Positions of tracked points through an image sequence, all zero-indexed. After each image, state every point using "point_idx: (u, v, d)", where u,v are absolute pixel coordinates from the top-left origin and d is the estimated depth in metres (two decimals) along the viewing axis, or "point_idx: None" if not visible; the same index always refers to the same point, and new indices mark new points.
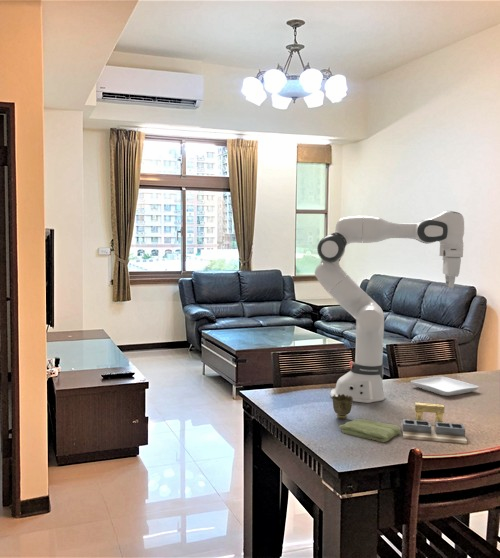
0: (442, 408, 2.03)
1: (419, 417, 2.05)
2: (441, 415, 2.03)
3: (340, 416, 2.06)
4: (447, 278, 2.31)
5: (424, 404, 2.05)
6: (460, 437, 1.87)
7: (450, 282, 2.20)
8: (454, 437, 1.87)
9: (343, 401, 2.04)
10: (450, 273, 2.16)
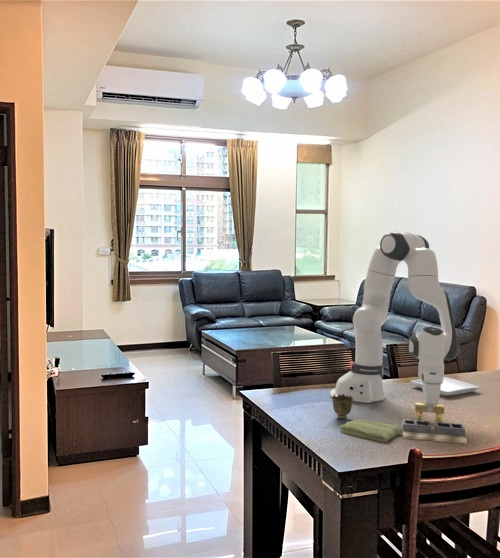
0: (442, 408, 2.03)
1: (419, 417, 2.05)
2: (441, 415, 2.03)
3: (340, 416, 2.06)
4: None
5: (424, 404, 2.05)
6: (460, 437, 1.87)
7: (428, 407, 2.02)
8: (454, 437, 1.87)
9: (343, 401, 2.04)
10: (429, 402, 1.95)
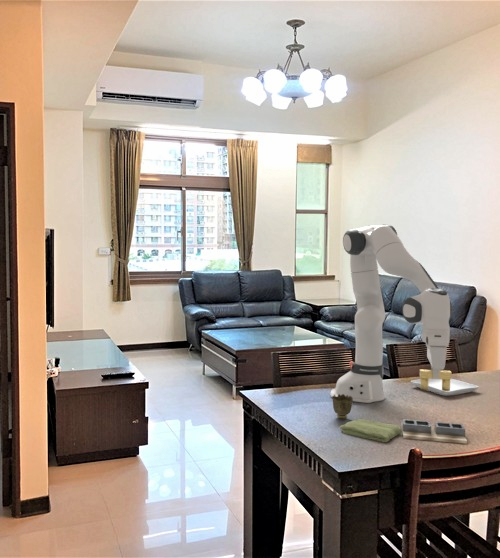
0: (449, 374, 1.89)
1: (424, 385, 1.91)
2: (448, 381, 1.90)
3: (340, 416, 2.06)
4: None
5: (430, 370, 1.92)
6: (460, 437, 1.87)
7: (434, 372, 1.88)
8: (454, 437, 1.87)
9: (343, 401, 2.04)
10: (434, 366, 1.81)
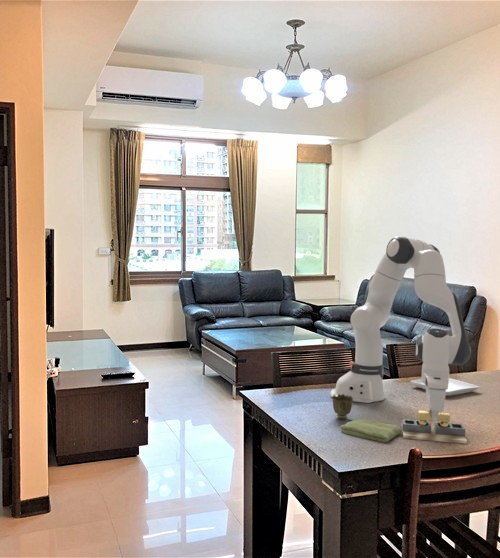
0: (447, 416, 1.90)
1: None
2: (446, 424, 1.90)
3: (340, 416, 2.06)
4: None
5: (428, 412, 1.92)
6: (460, 437, 1.87)
7: (433, 415, 1.88)
8: (454, 437, 1.87)
9: (343, 401, 2.04)
10: (433, 409, 1.82)
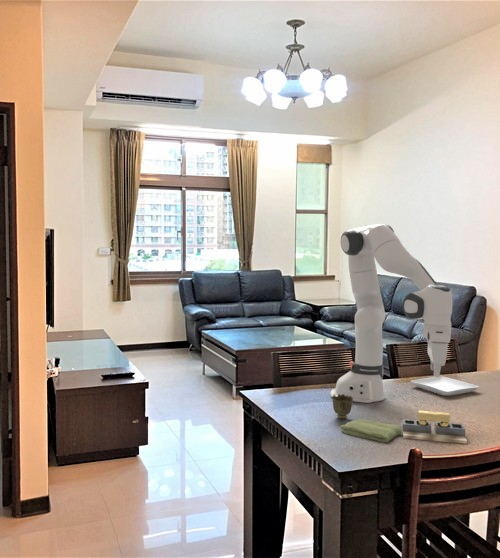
0: (447, 416, 1.90)
1: None
2: (446, 424, 1.90)
3: (340, 416, 2.06)
4: (432, 361, 1.96)
5: (428, 412, 1.92)
6: (460, 437, 1.87)
7: (435, 370, 1.86)
8: (454, 437, 1.87)
9: (343, 401, 2.04)
10: (435, 362, 1.81)
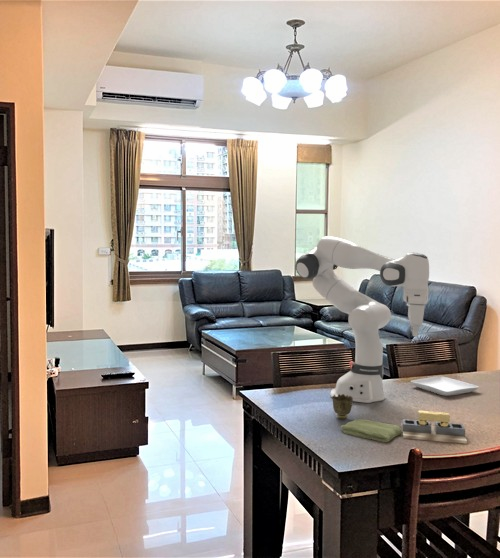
0: (447, 416, 1.90)
1: None
2: (446, 424, 1.90)
3: (340, 416, 2.06)
4: None
5: (428, 412, 1.92)
6: (460, 437, 1.87)
7: (414, 330, 2.03)
8: (454, 437, 1.87)
9: (343, 401, 2.04)
10: (413, 322, 1.99)
